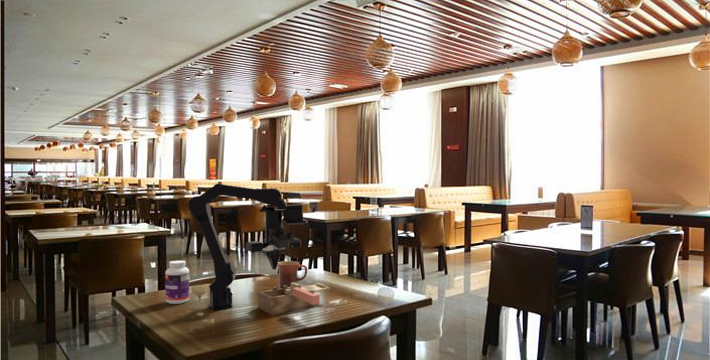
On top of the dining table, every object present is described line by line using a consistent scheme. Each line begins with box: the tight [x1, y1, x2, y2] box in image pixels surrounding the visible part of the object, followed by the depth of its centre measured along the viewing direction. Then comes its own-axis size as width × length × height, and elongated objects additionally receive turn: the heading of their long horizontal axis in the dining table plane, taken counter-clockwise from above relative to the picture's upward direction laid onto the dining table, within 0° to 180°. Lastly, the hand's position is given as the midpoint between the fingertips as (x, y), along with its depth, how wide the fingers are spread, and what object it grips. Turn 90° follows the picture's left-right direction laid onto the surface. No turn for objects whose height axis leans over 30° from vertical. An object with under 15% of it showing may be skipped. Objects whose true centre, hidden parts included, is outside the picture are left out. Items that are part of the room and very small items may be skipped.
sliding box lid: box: [284, 282, 331, 294], centre depth 169 cm, size 14×7×3 cm, turn 125°
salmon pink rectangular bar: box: [292, 287, 321, 306], centre depth 154 cm, size 2×14×3 cm, turn 35°
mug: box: [277, 260, 308, 289], centre depth 191 cm, size 12×9×10 cm
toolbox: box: [257, 285, 315, 316], centre depth 165 cm, size 16×10×6 cm, turn 125°
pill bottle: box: [164, 260, 190, 305], centre depth 173 cm, size 8×8×14 cm
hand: (274, 269), depth 167 cm, fingers closed
